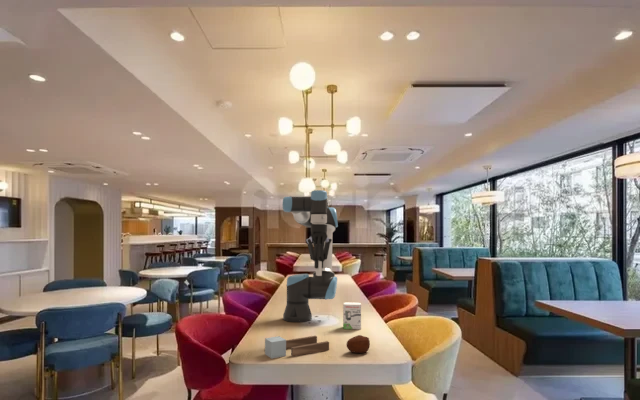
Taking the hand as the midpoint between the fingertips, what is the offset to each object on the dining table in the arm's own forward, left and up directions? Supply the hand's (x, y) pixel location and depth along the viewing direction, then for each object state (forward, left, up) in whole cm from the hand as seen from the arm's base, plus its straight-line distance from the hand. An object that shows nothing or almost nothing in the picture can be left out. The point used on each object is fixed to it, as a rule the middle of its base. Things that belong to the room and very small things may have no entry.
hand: (318, 275), depth 180 cm
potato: (+30, 0, -27) cm, 40 cm away
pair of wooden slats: (+16, -16, -26) cm, 35 cm away
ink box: (-2, +20, -27) cm, 33 cm away
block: (+16, -29, -27) cm, 43 cm away
